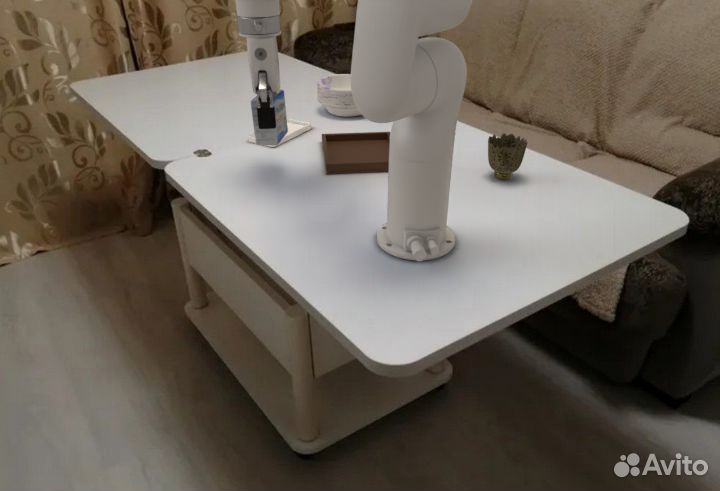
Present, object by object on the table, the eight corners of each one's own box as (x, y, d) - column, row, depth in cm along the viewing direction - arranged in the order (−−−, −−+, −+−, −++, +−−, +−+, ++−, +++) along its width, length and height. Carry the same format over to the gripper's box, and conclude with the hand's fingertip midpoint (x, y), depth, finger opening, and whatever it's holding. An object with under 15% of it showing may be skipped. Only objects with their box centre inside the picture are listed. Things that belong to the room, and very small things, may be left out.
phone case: (273, 147, 132) (312, 128, 143) (273, 142, 131) (312, 122, 142) (248, 141, 135) (287, 123, 146) (247, 136, 134) (287, 117, 145)
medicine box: (277, 145, 112) (273, 100, 108) (255, 145, 112) (249, 99, 108) (288, 132, 119) (284, 89, 114) (266, 132, 119) (262, 88, 115)
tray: (403, 171, 121) (403, 161, 120) (326, 174, 119) (326, 164, 118) (389, 140, 136) (390, 131, 135) (321, 143, 134) (321, 133, 133)
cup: (493, 187, 114) (499, 148, 110) (477, 172, 120) (481, 134, 116) (528, 183, 116) (534, 144, 112) (510, 168, 122) (515, 131, 118)
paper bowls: (385, 116, 150) (386, 85, 146) (329, 124, 146) (328, 91, 142) (363, 100, 163) (363, 70, 159) (310, 106, 158) (309, 76, 154)
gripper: (280, 33, 98) (288, 134, 107) (281, 17, 113) (287, 106, 122) (234, 35, 97) (245, 136, 106) (241, 18, 112) (250, 108, 121)
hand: (268, 120), depth 114 cm, fingers closed on medicine box, 8 cm apart
